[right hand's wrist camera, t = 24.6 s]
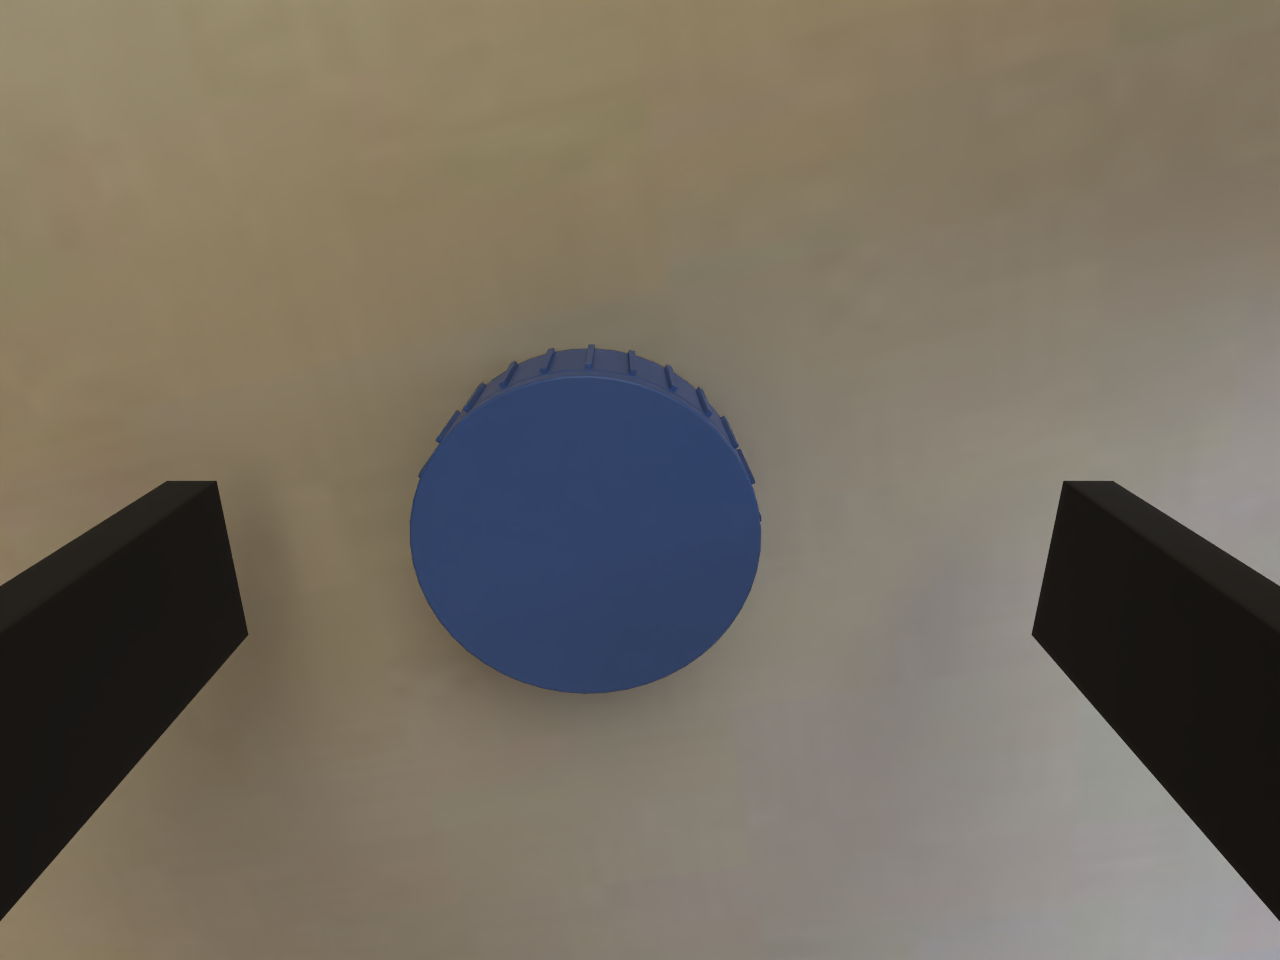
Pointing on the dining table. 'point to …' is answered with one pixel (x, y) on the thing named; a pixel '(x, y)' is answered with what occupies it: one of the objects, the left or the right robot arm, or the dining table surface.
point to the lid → (586, 523)
